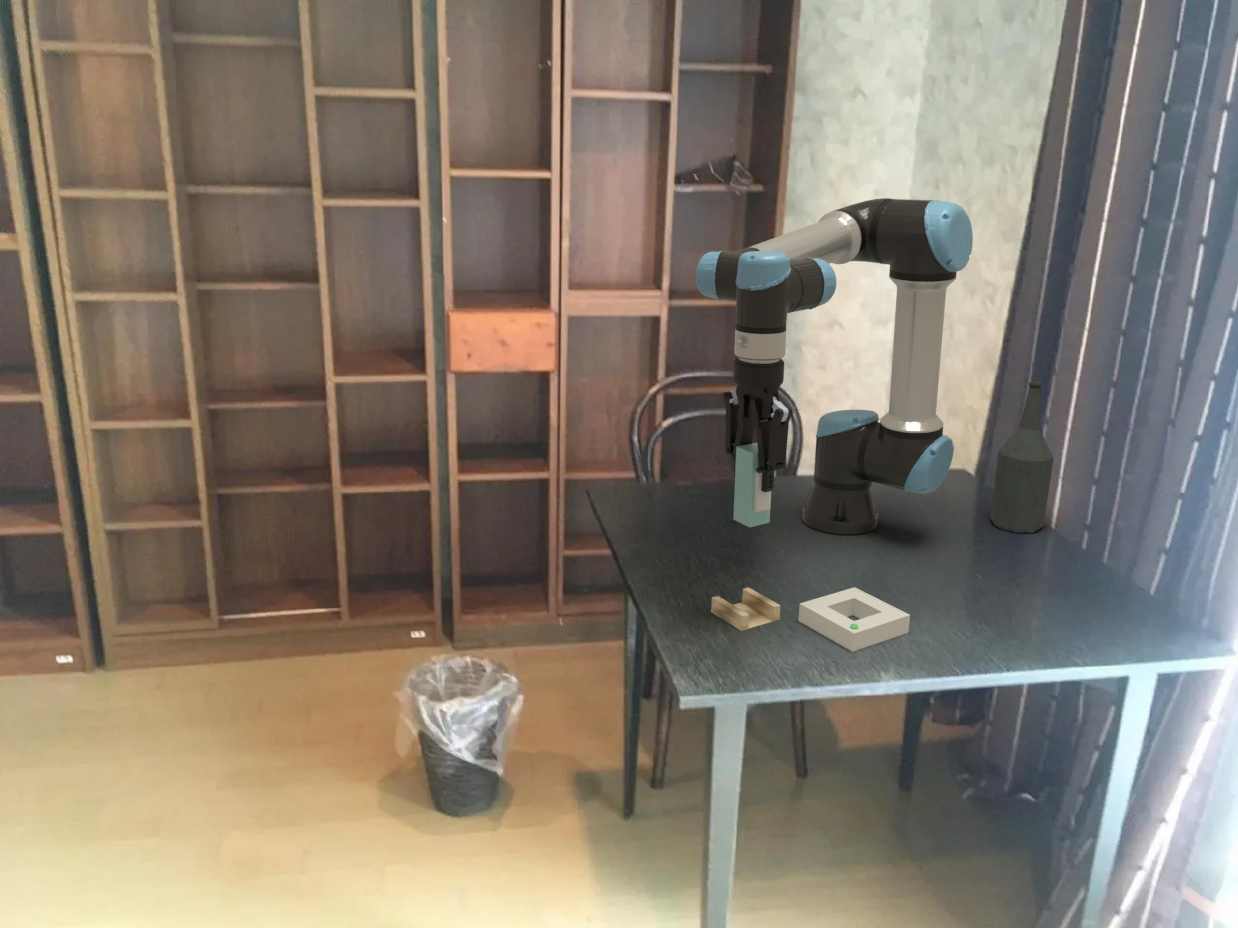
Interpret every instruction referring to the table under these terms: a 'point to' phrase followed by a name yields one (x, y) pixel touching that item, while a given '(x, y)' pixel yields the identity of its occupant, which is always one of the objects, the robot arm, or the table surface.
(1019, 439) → the bottle
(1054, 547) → the table surface
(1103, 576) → the table surface
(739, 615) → the wooden cradle
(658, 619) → the table surface
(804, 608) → the frame
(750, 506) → the plug
